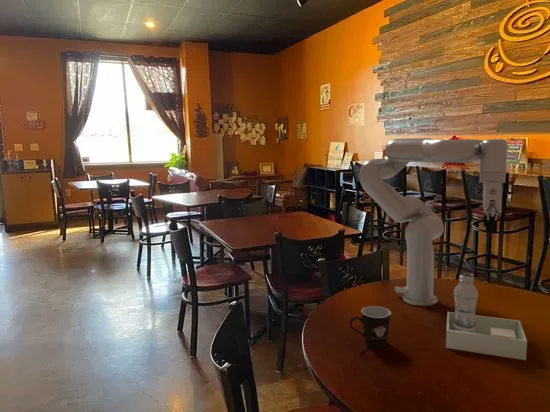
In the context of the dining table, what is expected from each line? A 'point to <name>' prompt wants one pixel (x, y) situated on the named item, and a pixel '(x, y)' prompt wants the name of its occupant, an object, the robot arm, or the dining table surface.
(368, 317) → the coffee mug
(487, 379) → the dining table surface
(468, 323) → the plastic bottle
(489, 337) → the crate
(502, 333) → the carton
